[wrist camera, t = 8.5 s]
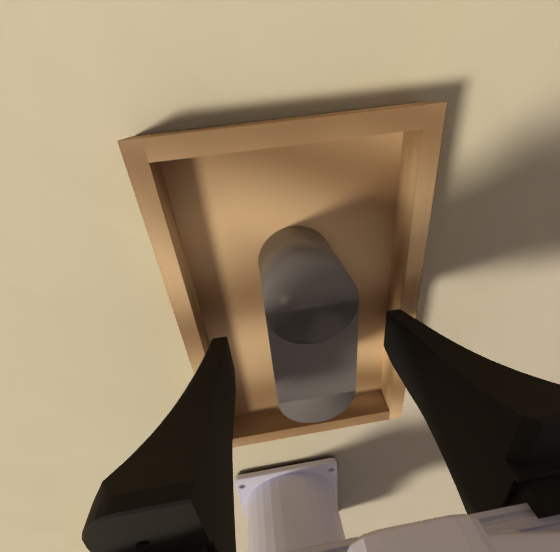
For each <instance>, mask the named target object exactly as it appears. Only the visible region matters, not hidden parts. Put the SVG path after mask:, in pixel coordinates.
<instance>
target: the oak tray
mask: <svg viewBox="0 0 560 552" xmlns="http://www.w3.org/2000/svg"><path fill="white" fill-rule="evenodd" d="M446 106H447V102H418V103H409V104H401V105H392V106H384V107H375V108H367V109H358V110H350V111H341V112H333V113H324V114H315V115H307V116H298V117H290V118H281V119H273V120H264V121H256V122H247V123H239V124H230V125H222V126H213V127H205V128H196V129H188V130H179V131H171V132H162V133H154V134H145V135H137V136H132V137H129V138H126V139H122V140H119V141H118V144H119V147H120V150H121V153H122V156H123V159H124V162H125V166H126V169H127V172H128V175H129V178H130V181H131V184H132V187H133V190H134V193H135V196H136V199H137V202H138V205H139V208H140V211H141V214H142V217H143V220H144V223H145V226H146V229H147V232H148V235H149V238H150V241H151V244H152V247H153V250H154V253H155V257H156V260H157V263H158V266H159V269H160V272H161V275H162V278H163V281H164V284H165V287H166V290H167V293H168V296H169V299H170V302H171V305H172V308H173V311H174V314H175V317H176V320H177V323H178V326H179V329H180V332H181V335H182V338H183V341H184V344H185V347H186V351H187V354H188V357H189V360H190V363H191V366H192V369H193V372H194V375H195V373H196V371H197V369H198V367H199V365H200V364H201V362H202V360H203V358H204V355H205V353H206V351H207V349H208V347H209V344H210V342H211V340H212V339H213V338H219V337H226V336H227V339H228V343H229V347H230V351H231V356H232V360H233V364H234V368H235V382H236V399H235V414H234V428H233V444H232V447H238V446H243V445H249V444H254V443H260V442H265V441H271V440H277V439H282V438H288V437H293V436H299V435H304V434H310V433H316V432H321V431H327V430H332V429H338V428H343V427H349V426H354V425H360V424H366V423H371V422H377V421H382V420H388V419H393V418H399V417H401V415H402V408H403V401H404V394H405V385H404V384H403V382H402V380H401V379H400V377H399V375H398V374H397V372H396V371H395V369H394V367H393V366H392V363H391V361H390V359H389V357H388V355H387V352H386V350H385V348H384V334H385V323H386V311H390V310H397V309H400V310H402V311H404V312H405V313H407V314H409V315H410V316H412V317H413V318H415V319H416V312H417V305H418V298H419V291H420V284H421V278H422V271H423V264H424V257H425V250H426V243H427V236H428V230H429V223H430V216H431V209H432V202H433V195H434V188H435V182H436V175H437V168H438V161H439V154H440V147H441V140H442V134H443V127H444V120H445V113H446ZM290 226H305V227H309V228H312V229H314V230H316V231H318V232H319V233H320V234H321V235H322V236H323V237H324V238H325V239H326V240H327V242H328V243H329V245H330V246H331V248H332V249H333V251H334V252H335V254H336V255H337V257H338V258H339V260H340V261H341V263H342V264H343V266H344V267H345V269H346V270H347V272H348V273H349V275H350V276H351V278H352V279H353V281H354V283H355V284H356V286H357V289H358V293H359V320H358V346H357V372H356V393H355V397H354V399H353V401H352V403H351V404H350V405H349V407H348V408H347V409H346V410H345V411H343V412H342V413H341V414H339V415H337V416H335V417H333V418H331V419H329V420H326V421H322V422H317V423H302V422H297V421H294V420H291V419H289V418H288V417H286V416H285V415H284V414H283V413H282V412H281V410H280V408H279V405H278V399H277V392H276V385H275V378H274V371H273V365H272V358H271V351H270V344H269V337H268V330H267V323H266V316H265V309H264V302H263V295H262V288H261V281H260V273H259V266H258V257H259V253H260V250H261V248H262V246H263V244H264V243H265V241H266V240H267V239H268V238H269V237H270V236H271V235H272V234H274V233H275V232H277V231H279V230H281V229H283V228H286V227H290Z"/></svg>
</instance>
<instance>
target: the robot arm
mask: <svg viewBox="0 0 560 552" xmlns="http://www.w3.org/2000/svg"><path fill="white" fill-rule="evenodd" d="M384 348H385V350H386V352H387V355H388V357H389V359H390V361H391V363H392V366H393V367H394V369H395V371H396V372H397V374H398V375H399V377H400V379H401V380H402V382H403V384H404V385H405V387H406V388H407V390H408V392H409V393H410V395H411V396H412V398H413V400H414V401H415V403H416V404H417V406H418V408H419V409H420V411H421V413H422V415H423V416H424V418H425V420H426V422H427V424H428V426H429V428H430V430H431V432H432V434H433V436H434V438H435V440H436V443H437V445H438V447H439V449H440V451H441V453H442V456H443V458H444V460H445V462H446V464H447V467H448V469H449V471H450V473H451V476H452V478H453V480H454V483H455V485H456V487H457V490H458V492H459V495H460V497H461V500H462V502H463V505H464V507H465V509H466V512H467V514H468V515H466V514H458V515H448V516H443V517H438V518H433V519H428V520H423V521H418V522H413V523H408V524H403V525H398V526H393V527H389V528H384V529H379V530H376V531H372V532H369V533H366V534H363V535H362V536H360V537H355V538H350V539H345V535H344V531H343V527H342V523H341V519H340V515H339V511H338V483H337V462H336V459H334V458H327V459H322V460H316V461H311V462H305V463H300V464H294V465H289V466H284V467H278V468H273V469H267V470H262V471H257V472H251V473H246V474H240V475H238V476H236V477H235V487H236V490H237V493H238V496H239V499H240V502H241V506H242V509H243V512H244V515H245V518H246V521H247V544H248V552H560V384H556V383H553V382H549V381H546V380H543V379H540V378H537V377H534V376H531V375H528V374H525V373H522V372H519V371H517V370H514V369H511V368H509V367H506V366H504V365H501V364H499V363H496V362H494V361H491V360H489V359H487V358H485V357H483V356H481V355H478V354H476V353H474V352H472V351H470V350H468V349H466V348H464V347H462V346H460V345H458V344H457V343H455V342H453V341H451V340H449V339H448V338H446V337H444V336H442V335H441V334H439V333H437V332H436V331H434V330H432V329H431V328H429V327H428V326H426V325H424V324H423V323H421V322H420V321H418V320H417V319H415V318H413V317H412V316H410V315H409V314H407V313H405V312H404V311H402V310H400V309H397V310H390V311H386V323H385V334H384ZM235 399H236V382H235V368H234V364H233V360H232V356H231V351H230V347H229V343H228V339H227V336H226V337H219V338H213V339H212V340H211V342H210V344H209V347H208V349H207V351H206V353H205V355H204V358H203V360H202V362H201V364H200V365H199V367H198V369H197V371H196V373H195V375H194V376H193V378H192V380H191V381H190V383H189V385H188V386H187V388H186V390H185V391H184V393H183V394H182V396H181V397H180V399H179V400H178V402H177V403H176V404H175V406H174V407H173V409H172V410H171V411H170V413H169V414H168V415H167V416H166V418H165V419H164V420H163V421H162V423H161V424H160V425H159V426H158V427H157V429H156V430H155V431H154V432H153V433H152V434H151V436H150V437H149V438H148V439H147V440H146V441H145V442H144V443H143V444H142V445H141V446H140V447H139V448H138V449H137V450H136V451H135V452H134V453H133V454H132V455H131V456H130V457H129V458H128V459H127V460H126V461H125V462H124V463H123V464H122V465H121V466H119V467H118V468H117V469H116V470H115V471H114V472H113V473H112V474H111V475H109V476H108V477H107V478H106V479H105V480H104V481H103V482H102V484H101V486H100V488H99V491H98V493H97V495H96V497H95V499H94V502H93V504H92V507H91V510H90V512H89V515H88V518H87V521H86V524H85V526H84V529H83V532H82V540H83V542H84V544H85V545H86V547H87V548H88V550H89V551H90V552H236V540H235V520H234V496H233V462H232V444H233V428H234V414H235Z"/></svg>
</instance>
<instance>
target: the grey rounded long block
mask: <svg viewBox="0 0 560 552" xmlns="http://www.w3.org/2000/svg"><path fill="white" fill-rule="evenodd" d="M258 266H259V273H260V281H261V288H262V295H263V302H264V309H265V316H266V323H267V330H268V337H269V344H270V351H271V358H272V365H273V371H274V378H275V385H276V392H277V399H278V405H279V408H280V410H281V412H282V413H283V414H284V415H285V416H286V417H288V418H289V419H291V420H294V421H297V422H302V423H317V422H322V421H326V420H329V419H331V418H333V417H335V416H337V415H339V414H341V413H342V412H343V411H345V410H346V409H347V408H348V407H349V405H350V404H351V403H352V401H353V399H354V397H355V393H356V372H357V346H358V320H359V293H358V289H357V286H356V284H355V283H354V281H353V279H352V278H351V276H350V275H349V273H348V272H347V270H346V269H345V267H344V266H343V264H342V263H341V261H340V260H339V258H338V257H337V255H336V254H335V252H334V251H333V249H332V248H331V246H330V245H329V243H328V242H327V240H326V239H325V238H324V237H323V236H322V235H321V234H320V233H319V232H318V231H316V230H314V229H312V228H309V227H305V226H290V227H286V228H283V229H281V230H279V231H277V232H275V233H274V234H272V235H271V236H270V237H269V238H268V239H267V240H266V241H265V243H264V244H263V246H262V248H261V250H260V253H259V257H258Z"/></svg>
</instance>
